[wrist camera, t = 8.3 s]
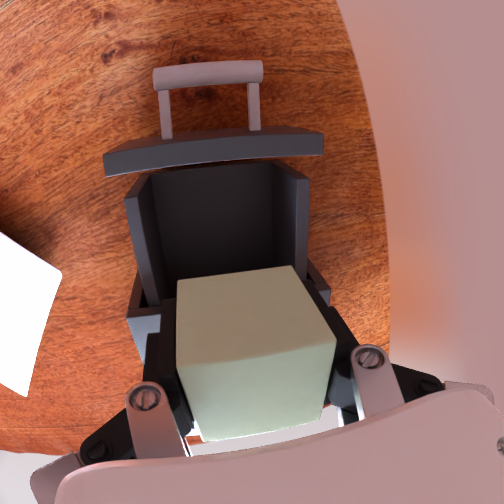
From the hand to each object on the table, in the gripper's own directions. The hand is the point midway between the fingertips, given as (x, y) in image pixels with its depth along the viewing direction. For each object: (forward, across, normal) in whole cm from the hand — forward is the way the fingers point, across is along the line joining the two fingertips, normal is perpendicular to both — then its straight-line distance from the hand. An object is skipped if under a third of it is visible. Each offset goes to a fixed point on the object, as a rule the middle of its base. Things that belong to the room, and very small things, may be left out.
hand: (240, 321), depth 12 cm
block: (0, 0, 0) cm, 0 cm away
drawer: (+12, 0, -2) cm, 12 cm away
